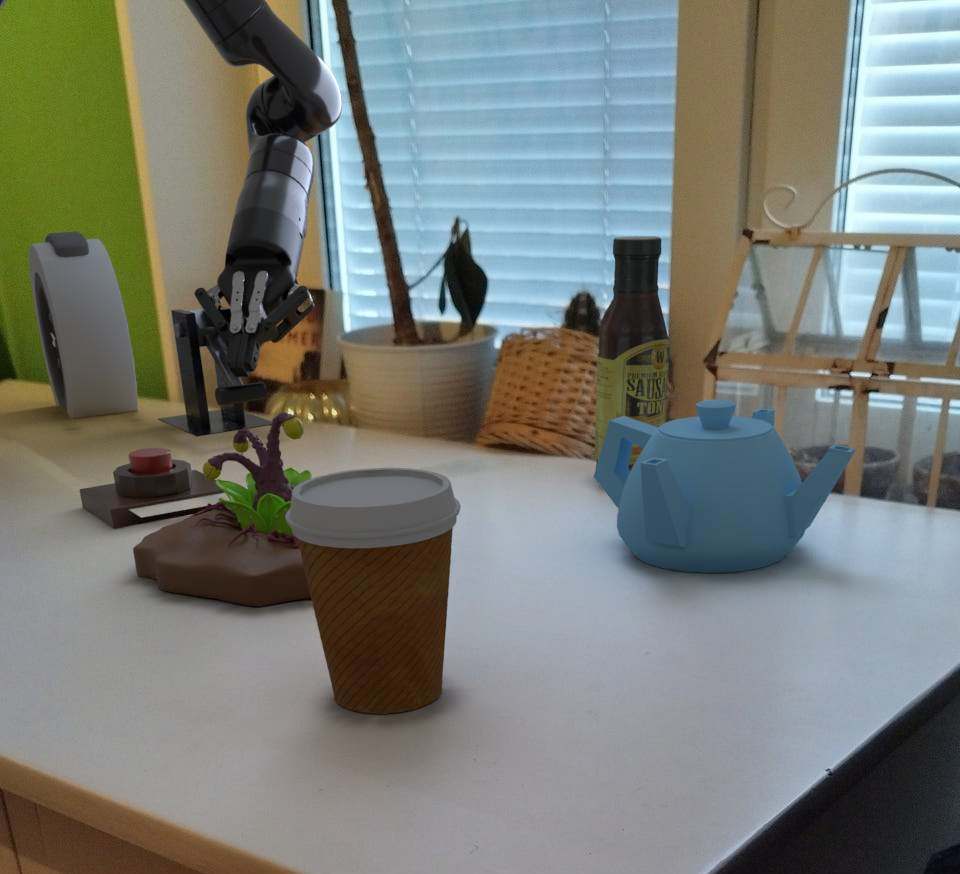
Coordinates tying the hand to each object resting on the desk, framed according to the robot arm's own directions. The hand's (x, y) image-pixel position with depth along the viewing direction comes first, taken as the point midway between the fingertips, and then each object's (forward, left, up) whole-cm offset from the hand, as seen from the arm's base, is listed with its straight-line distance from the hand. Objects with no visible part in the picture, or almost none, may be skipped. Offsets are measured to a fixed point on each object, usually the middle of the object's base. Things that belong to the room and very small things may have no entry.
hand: (239, 372), depth 133 cm
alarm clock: (-7, +30, -8) cm, 32 cm away
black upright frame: (0, +9, -8) cm, 12 cm away
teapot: (+13, -58, -8) cm, 60 cm away
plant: (-14, -40, -8) cm, 43 cm away
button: (-16, -17, -5) cm, 24 cm away
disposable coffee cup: (-20, -68, -8) cm, 71 cm away
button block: (-16, -17, -8) cm, 25 cm away
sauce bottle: (+22, -36, -8) cm, 43 cm away
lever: (0, +6, 0) cm, 6 cm away
